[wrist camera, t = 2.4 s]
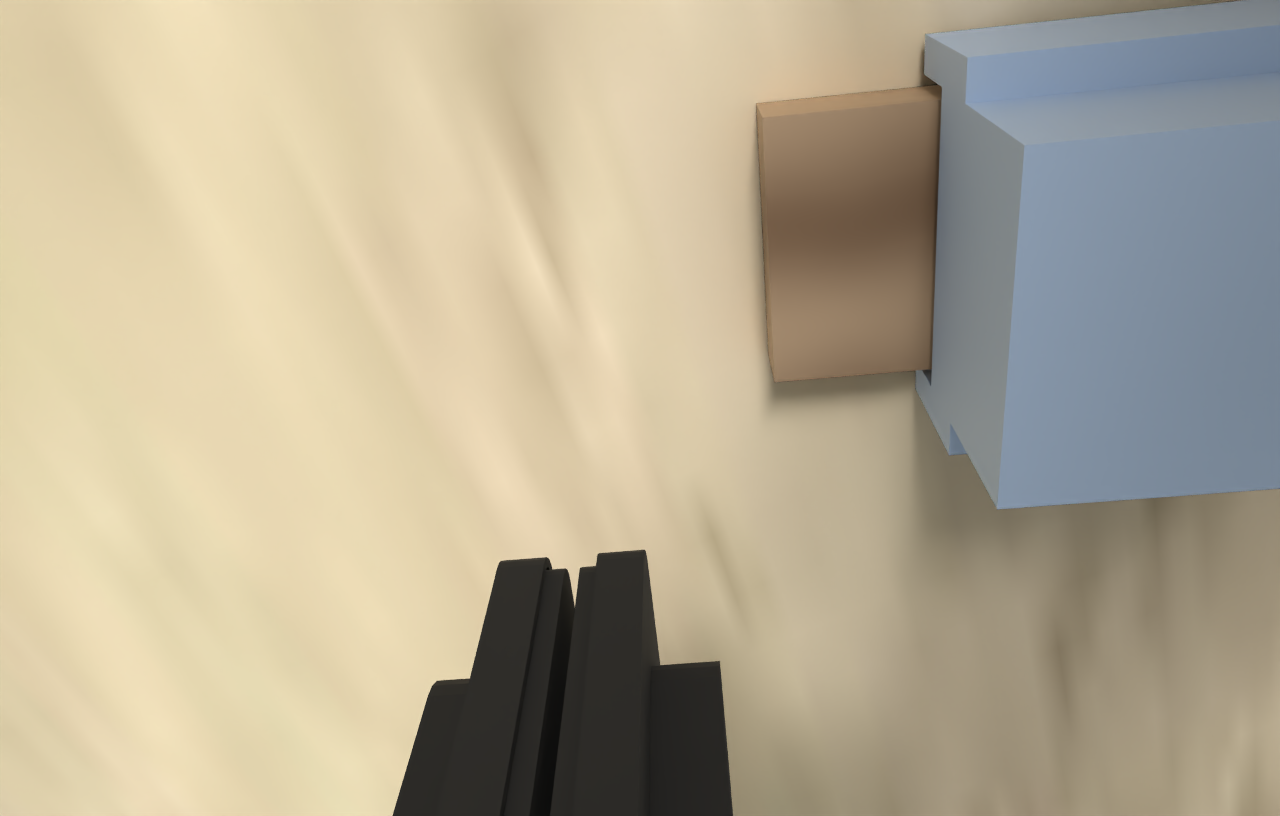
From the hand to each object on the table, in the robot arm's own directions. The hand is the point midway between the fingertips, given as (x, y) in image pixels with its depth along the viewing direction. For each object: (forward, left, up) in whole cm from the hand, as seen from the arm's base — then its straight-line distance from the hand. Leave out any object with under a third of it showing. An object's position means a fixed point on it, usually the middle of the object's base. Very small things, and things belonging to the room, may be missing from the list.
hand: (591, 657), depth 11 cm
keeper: (0, +10, -13) cm, 17 cm away
